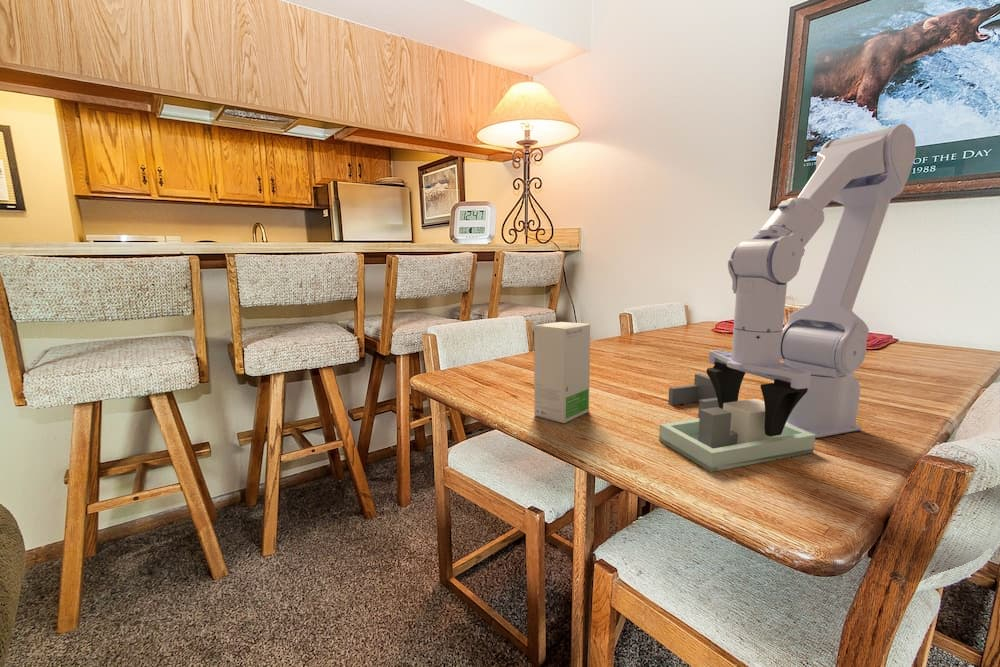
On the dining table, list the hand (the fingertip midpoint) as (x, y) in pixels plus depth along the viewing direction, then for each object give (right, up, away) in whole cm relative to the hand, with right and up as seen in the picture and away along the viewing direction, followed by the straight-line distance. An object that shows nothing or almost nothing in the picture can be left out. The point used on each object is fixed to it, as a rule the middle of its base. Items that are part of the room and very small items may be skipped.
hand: (749, 424), depth 61 cm
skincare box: (-25, -1, +14) cm, 28 cm away
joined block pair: (-2, -2, 0) cm, 3 cm away
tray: (-2, -3, 0) cm, 4 cm away
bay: (0, 0, +15) cm, 15 cm away
